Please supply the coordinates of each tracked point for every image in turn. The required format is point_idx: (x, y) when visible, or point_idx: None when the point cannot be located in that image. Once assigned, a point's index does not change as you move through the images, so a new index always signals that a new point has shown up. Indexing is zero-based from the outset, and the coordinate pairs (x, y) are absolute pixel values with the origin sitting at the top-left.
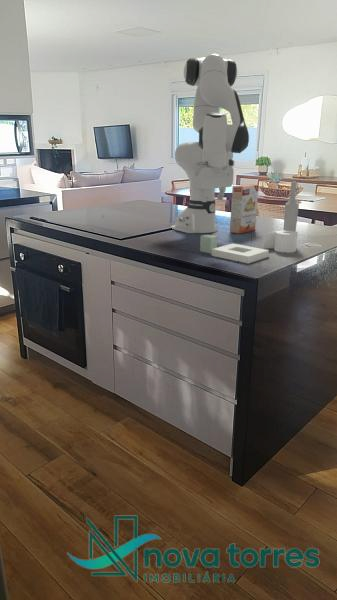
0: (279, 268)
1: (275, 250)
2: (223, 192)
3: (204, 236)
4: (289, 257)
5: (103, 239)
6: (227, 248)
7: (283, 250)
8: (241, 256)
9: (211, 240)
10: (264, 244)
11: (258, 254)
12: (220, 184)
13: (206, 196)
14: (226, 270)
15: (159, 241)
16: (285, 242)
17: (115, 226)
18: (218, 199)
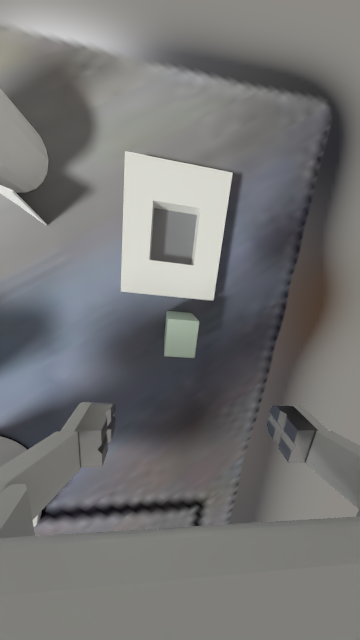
0: (222, 80)
1: (43, 179)
2: (42, 457)
3: (195, 345)
4: (90, 100)
5: (217, 520)
6: (184, 271)
7: (40, 141)
8: (227, 200)
9: (194, 319)
10: (39, 217)
11: (183, 165)
12: (143, 636)
13: (324, 433)
14: (301, 202)
15: (165, 453)
16: (16, 110)
17: None
18: (113, 421)
